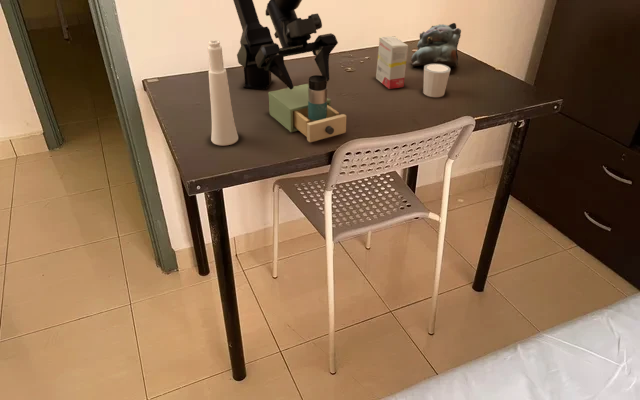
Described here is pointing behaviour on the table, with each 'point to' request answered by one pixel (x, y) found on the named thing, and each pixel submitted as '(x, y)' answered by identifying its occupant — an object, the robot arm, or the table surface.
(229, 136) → the cosmetic bottle
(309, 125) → the drawer
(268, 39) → the robot arm
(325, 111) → the thermos flask
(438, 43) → the lucky cat figurine
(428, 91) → the white cylinder
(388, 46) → the ink box
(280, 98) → the drawer unit
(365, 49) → the table surface
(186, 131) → the table surface
